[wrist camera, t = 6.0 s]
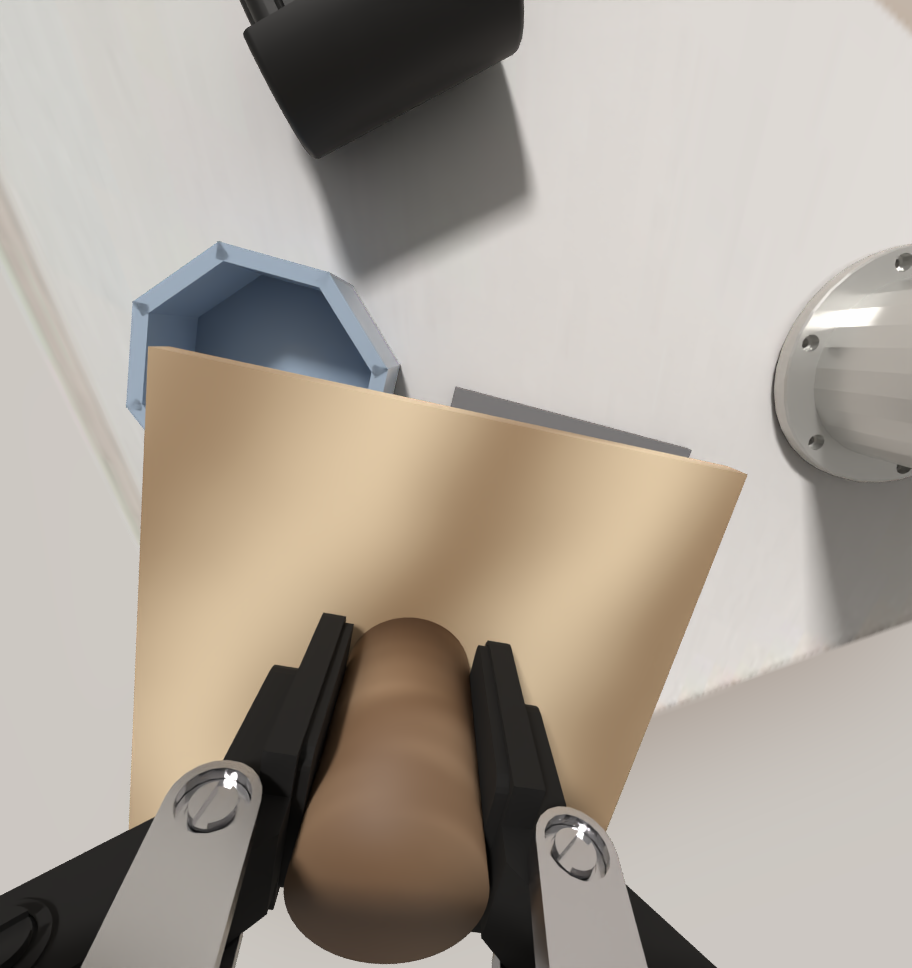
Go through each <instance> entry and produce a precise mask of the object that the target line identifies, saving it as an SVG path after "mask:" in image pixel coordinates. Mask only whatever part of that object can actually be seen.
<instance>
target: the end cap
mask: <svg viewBox="0 0 912 968" xmlns="http://www.w3.org/2000/svg"><path fill="white" fill-rule="evenodd" d="M240 2H241V5H242V7H243V9H244V11H245V13H246V15H247V18H248V20H249V22H250V24H251V26H250V27H248V28H247V29H246V30H245V31H244V33H243V36H244V38H245V40H246V42H247V44H248V47H249V49H250V51H251V53H252V55H253V57H254V59H255V61H256V63H257V65H258V67H259V69H260V71H261V73H262V75H263V77H264V79H265V81H266V82H267V84H268V86H269V88H270V90H271V92H272V94H273V96H274V98H275V99H276V101H277V103H278V105H279V107H280V109H281V110H282V112H283V114H284V116H285V117H286V119H287V121H288V123H289V124H290V126H291V128H292V129H293V131H294V133H295V134H296V136H297V138H298V139H299V141H300V142H301V144H302V145H303V147H304V148H305V150H306V151H307V152H308V153H309V154H310V155H311V156H312V157H314V158H317V159H318V158H321V157H323V156H325V155H327V154H328V153H330V152H332V151H334V150H336V149H338V148H340V147H341V146H343V145H345V144H347V143H349V142H351V141H353V140H355V139H356V138H358V137H360V136H362V135H364V134H366V133H368V132H369V131H371V130H373V129H375V128H377V127H379V126H381V125H382V124H384V123H386V122H388V121H390V120H392V119H394V118H396V117H397V116H399V115H401V114H403V113H405V112H407V111H409V110H410V109H412V108H414V107H416V106H418V105H420V104H422V103H424V102H425V101H427V100H429V99H431V98H433V97H435V96H437V95H438V94H440V93H442V92H444V91H446V90H448V89H450V88H452V87H453V86H455V85H457V84H459V83H461V82H463V81H465V80H466V79H468V78H470V77H472V76H474V75H476V74H478V73H479V72H481V71H483V70H485V69H487V68H489V67H491V66H493V65H494V64H496V63H498V62H500V61H502V60H504V59H506V58H507V57H509V56H511V55H513V54H514V53H515V52H516V51H517V50H518V48H519V45H520V42H521V39H522V34H523V26H524V0H240Z"/></svg>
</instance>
